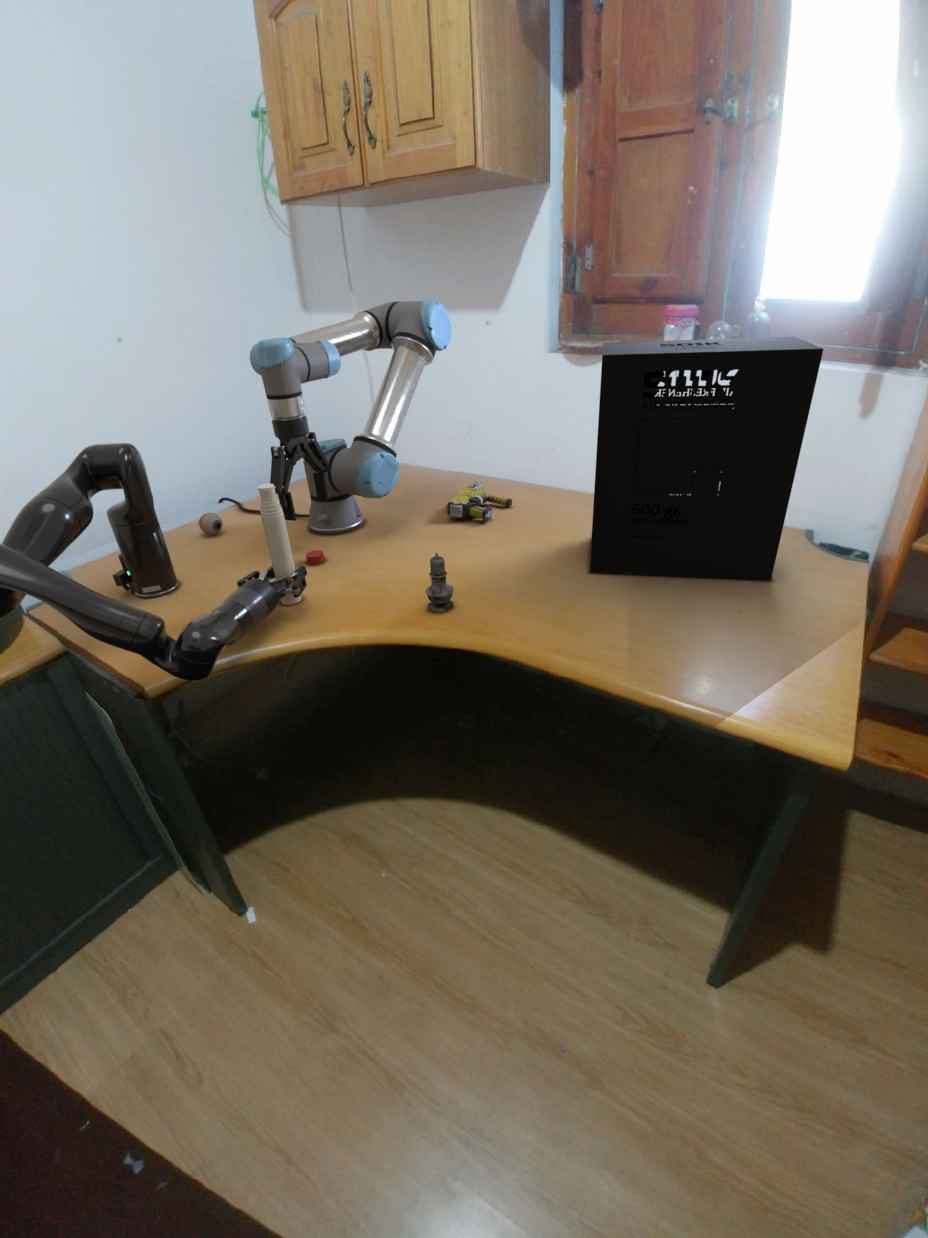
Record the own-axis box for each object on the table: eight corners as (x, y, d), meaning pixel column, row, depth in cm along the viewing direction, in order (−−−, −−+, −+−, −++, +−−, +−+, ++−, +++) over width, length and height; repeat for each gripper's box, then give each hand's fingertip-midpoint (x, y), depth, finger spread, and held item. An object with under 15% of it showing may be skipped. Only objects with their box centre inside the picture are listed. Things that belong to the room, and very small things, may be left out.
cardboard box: (751, 542, 144) (793, 336, 122) (770, 580, 127) (823, 348, 105) (591, 537, 152) (603, 342, 130) (589, 572, 135) (602, 354, 112)
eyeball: (212, 539, 164) (206, 518, 161) (197, 535, 167) (191, 515, 164) (230, 531, 169) (224, 511, 166) (215, 528, 172) (210, 508, 169)
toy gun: (520, 486, 181) (473, 479, 185) (498, 510, 161) (445, 501, 165) (519, 501, 183) (472, 494, 187) (496, 526, 163) (445, 518, 167)
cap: (305, 560, 149) (303, 552, 148) (322, 556, 151) (320, 548, 150) (309, 566, 146) (308, 558, 145) (326, 562, 148) (325, 554, 146)
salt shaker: (451, 613, 122) (447, 559, 116) (423, 611, 123) (418, 558, 117) (457, 599, 127) (454, 547, 121) (430, 598, 128) (425, 546, 122)
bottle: (287, 594, 134) (262, 481, 121) (305, 596, 132) (281, 482, 120) (276, 604, 130) (249, 488, 117) (295, 605, 129) (269, 489, 116)
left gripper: (221, 619, 120) (265, 581, 134) (286, 625, 116) (324, 586, 130) (211, 585, 116) (258, 550, 130) (278, 591, 113) (318, 554, 127)
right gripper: (306, 404, 142) (323, 490, 153) (237, 430, 123) (261, 527, 133) (333, 404, 140) (348, 492, 151) (267, 431, 120) (289, 530, 131)
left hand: (291, 568), depth 130 cm, fingers open, 5 cm apart
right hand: (307, 509), depth 142 cm, fingers open, 13 cm apart
